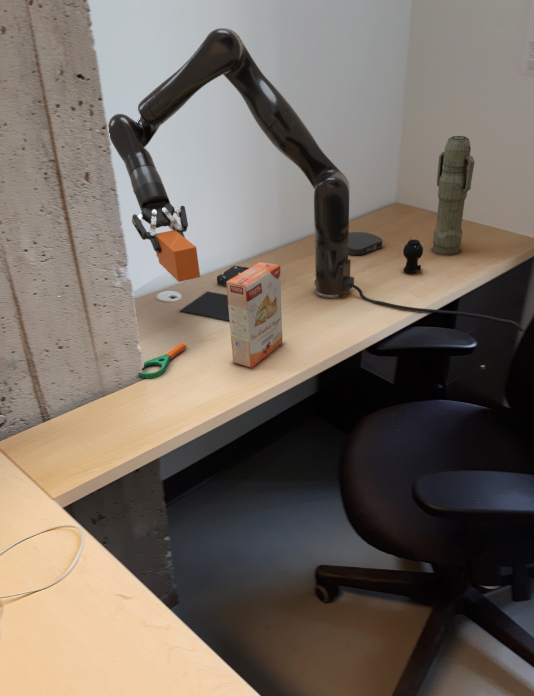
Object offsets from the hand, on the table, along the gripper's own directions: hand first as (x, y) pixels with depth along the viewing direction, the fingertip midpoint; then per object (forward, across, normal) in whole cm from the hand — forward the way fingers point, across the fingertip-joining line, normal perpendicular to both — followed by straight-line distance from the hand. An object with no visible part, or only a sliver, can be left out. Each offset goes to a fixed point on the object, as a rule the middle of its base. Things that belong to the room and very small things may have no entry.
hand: (171, 248), depth 148 cm
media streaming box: (-2, +72, +32) cm, 78 cm away
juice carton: (+5, 0, +1) cm, 5 cm away
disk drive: (+3, +26, +27) cm, 38 cm away
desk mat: (+12, +13, +18) cm, 25 cm away
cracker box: (+33, +10, -3) cm, 35 cm away
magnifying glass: (+27, -11, +3) cm, 29 cm away
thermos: (+12, +94, +18) cm, 96 cm away
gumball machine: (+18, +73, +12) cm, 76 cm away
